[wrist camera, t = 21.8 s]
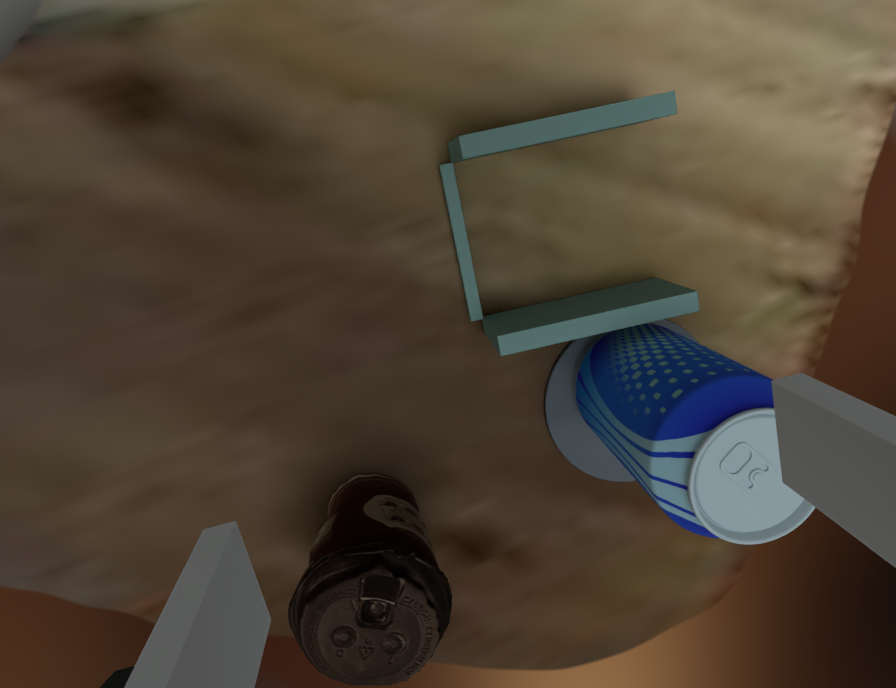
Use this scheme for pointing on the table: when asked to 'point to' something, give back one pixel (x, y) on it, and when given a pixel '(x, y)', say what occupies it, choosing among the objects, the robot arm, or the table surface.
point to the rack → (577, 311)
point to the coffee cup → (371, 587)
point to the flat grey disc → (567, 419)
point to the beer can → (691, 432)
